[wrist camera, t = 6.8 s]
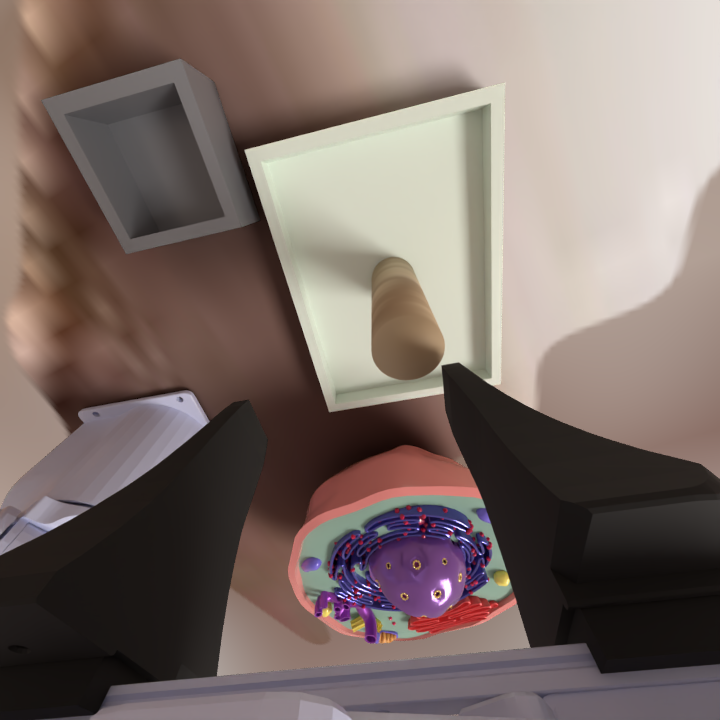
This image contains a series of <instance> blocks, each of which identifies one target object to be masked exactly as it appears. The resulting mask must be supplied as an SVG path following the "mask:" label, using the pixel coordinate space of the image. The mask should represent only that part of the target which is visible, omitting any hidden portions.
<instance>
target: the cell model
mask: <svg viewBox="0 0 720 720" xmlns="http://www.w3.org/2000/svg"><path fill="white" fill-rule="evenodd" d="M288 574H289V579H290V582H291V585H292V587H293V590H294V592H295V595H296V597H297V598H298V600H299V601H300V603H301V604H302V606H303V607H304V608H305V609H306V610H308V611H309V612H310V613H312V614H313V615H314V616H315V617H317V618H319V619H320V620H321V621H323V622H324V623H325V624H327V625H328V626H330V627H331V628H333V629H334V630H336V631H338V632H340V633H342V634H346V635H349V636H355V637H362V638H365V641H366V642H368V643H376V644H377V643H379V642H380V643H385V642H386V643H390V642H392V641H404V640H405V641H406V640H417V639H424V638H427V637H430V636H433V635H436V634H440V633H444V632H449V631H454V630H459V629H464V628H468V627H473V626H476V625H479V624H482V623H484V622H486V621H488V620H490V619H491V618H493V617H495V616H496V615H498V614H500V613H501V612H503V611H505V610H507V609H508V608H510V607H512V606H514V605H515V604H516V603H517V602H516V598H515V595H514V592H513V589H512V586H511V583H510V580H509V577H508V574H507V570H506V567H505V564H504V561H503V558H502V555H501V552H500V549H499V546H498V543H497V540H496V537H495V534H494V531H493V528H492V525H491V522H490V520H489V517H488V514H487V511H486V508H485V505H484V502H483V500H482V497H481V495H480V492H479V490H478V488H477V486H476V483H475V481H474V479H473V477H472V475H471V473H470V470H469V468H466V467H465V466H463V465H461V464H459V463H457V462H455V461H454V460H452V459H449V458H447V457H444V456H441V455H437V454H434V453H431V452H428V451H426V450H424V449H421V448H419V447H415V446H411V445H400V446H397V447H395V448H393V449H391V450H388V451H386V452H383V453H380V454H377V455H374V456H371V457H368V458H365V459H363V460H361V461H358V462H356V463H354V464H352V465H351V466H349V467H347V468H345V469H344V470H342V471H340V472H338V473H337V474H335V475H333V476H332V477H330V478H329V479H328V480H326V481H325V482H324V483H322V484H321V485H320V486H319V487H318V488H317V490H316V491H315V492H314V494H313V495H312V497H311V500H310V502H309V504H308V509H307V514H306V519H305V522H304V524H303V525H302V527H301V529H300V530H299V532H298V533H297V535H296V537H295V539H294V544H293V549H292V554H291V558H290V563H289V567H288Z"/></svg>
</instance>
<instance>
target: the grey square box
mask: <svg viewBox="0 0 720 720" xmlns="http://www.w3.org/2000/svg"><path fill="white" fill-rule="evenodd" d="M41 101H42V103H43V105H44V106H45V108H46V110H47V112H48V114H49V115H50V117H51V119H52V121H53V123H54V124H55V126H56V128H57V130H58V132H59V134H60V135H61V137H62V139H63V141H64V143H65V144H66V146H67V148H68V150H69V152H70V153H71V155H72V157H73V159H74V161H75V163H76V164H77V166H78V168H79V170H80V172H81V173H82V175H83V177H84V179H85V181H86V182H87V184H88V186H89V188H90V190H91V191H92V193H93V195H94V197H95V199H96V201H97V202H98V204H99V206H100V208H101V210H102V211H103V213H104V215H105V217H106V219H107V220H108V222H109V224H110V226H111V228H112V230H113V231H114V233H115V235H116V237H117V239H118V240H119V242H120V244H121V246H122V248H123V249H124V251H125V253H126V254H129V253H133V252H137V251H142V250H146V249H150V248H154V247H159V246H163V245H167V244H172V243H176V242H180V241H184V240H189V239H193V238H197V237H202V236H206V235H210V234H214V233H219V232H223V231H227V230H232V229H236V228H240V227H244V226H246V225H249V224H252V223H255V222H257V221H260V218H259V215H258V212H257V209H256V206H255V203H254V200H253V197H252V194H251V191H250V188H249V185H248V182H247V179H246V176H245V173H244V170H243V167H242V164H241V161H240V158H239V155H238V152H237V149H236V146H235V143H234V140H233V137H232V134H231V131H230V128H229V125H228V122H227V119H226V116H225V113H224V110H223V107H222V104H221V101H220V98H219V95H218V92H217V89H216V86H215V83H214V81H212V80H211V79H209V78H208V77H206V76H205V75H204V74H202V73H201V72H199V71H198V70H196V69H195V68H193V67H192V66H191V65H189V64H188V63H186V62H185V61H183V60H182V59H178V60H174V61H171V62H168V63H164V64H161V65H157V66H154V67H151V68H147V69H144V70H141V71H137V72H134V73H131V74H127V75H124V76H121V77H117V78H114V79H110V80H107V81H104V82H100V83H97V84H94V85H90V86H87V87H84V88H80V89H77V90H73V91H70V92H67V93H63V94H60V95H57V96H53V97H50V98H47V99H43V100H41Z"/></svg>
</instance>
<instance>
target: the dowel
mask: <svg viewBox="0 0 720 720" xmlns="http://www.w3.org/2000/svg"><path fill="white" fill-rule="evenodd" d="M444 351H445V341H444V337H443V335H442V333H441V330H440V328H439V326H438V324H437V321H436V319H435V317H434V315H433V313H432V310H431V308H430V306H429V304H428V301H427V299H426V297H425V295H424V292H423V290H422V288H421V286H420V283H419V281H418V279H417V277H416V275H415V272H414V270H413V268H412V266H411V265H410V264H409V263H408V262H407V261H406V260H404V259H402V258H399V257H390V258H386V259H384V260H382V261H381V262H379V263H378V264H377V266H376V267H375V269H374V271H373V273H372V307H371V352H372V358H373V361H374V363H375V365H376V366H377V367H378V369H379V370H380V371H381V372H382V373H384V374H385V375H387V376H389V377H391V378H394V379H398V380H414V379H418V378H421V377H424V376H426V375H427V374H429V373H430V372H432V371H433V370H434V369H435V368H436V367H437V366H438V365H439V363H440V362H441V360H442V358H443V355H444Z"/></svg>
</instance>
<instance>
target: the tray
mask: <svg viewBox="0 0 720 720" xmlns="http://www.w3.org/2000/svg"><path fill="white" fill-rule="evenodd" d="M504 134H505V82H504V83H501V84H497V85H493V86H489V87H485V88H481V89H477V90H474V91H470V92H466V93H462V94H458V95H454V96H450V97H447V98H443V99H439V100H435V101H431V102H427V103H424V104H420V105H416V106H412V107H408V108H404V109H400V110H397V111H393V112H389V113H385V114H381V115H377V116H373V117H370V118H366V119H362V120H358V121H354V122H350V123H346V124H343V125H339V126H335V127H331V128H327V129H323V130H319V131H316V132H312V133H308V134H304V135H300V136H296V137H293V138H289V139H285V140H281V141H277V142H273V143H269V144H266V145H262V146H258V147H254V148H250V149H246V150H245V153H246V156H247V160H248V163H249V166H250V169H251V172H252V175H253V178H254V181H255V184H256V187H257V190H258V194H259V197H260V200H261V203H262V206H263V209H264V212H265V215H266V218H267V221H268V224H269V228H270V231H271V234H272V237H273V240H274V243H275V246H276V249H277V252H278V255H279V258H280V262H281V265H282V268H283V271H284V274H285V277H286V280H287V283H288V286H289V289H290V292H291V296H292V299H293V302H294V305H295V308H296V311H297V314H298V317H299V320H300V323H301V326H302V330H303V333H304V336H305V339H306V342H307V345H308V348H309V351H310V354H311V357H312V361H313V364H314V367H315V370H316V373H317V376H318V379H319V382H320V385H321V388H322V391H323V395H324V398H325V401H326V404H327V407H328V410H329V412H334V411H340V410H346V409H352V408H358V407H364V406H371V405H377V404H383V403H389V402H395V401H401V400H407V399H413V398H419V397H425V396H432V395H438V394H444V388H443V378H442V367H441V365H446V364H452V363H457V362H459V363H461V364H462V365H463V366H465V367H466V368H468V369H469V370H470V371H472V372H473V373H474V374H476V375H477V376H479V377H480V378H482V379H483V380H484V381H486V382H487V383H489V384H490V385H499V384H501V342H502V272H503V203H504ZM390 257H399V258H402V259H404V260H406V261H407V262H408V263H409V264H410V265H411V266H412V268H413V270H414V272H415V275H416V277H417V279H418V281H419V283H420V286H421V288H422V290H423V292H424V295H425V297H426V299H427V301H428V304H429V306H430V308H431V310H432V313H433V315H434V317H435V319H436V321H437V324H438V326H439V328H440V330H441V333H442V335H443V337H444V341H445V351H444V355H443V358H442V360H441V362H440V363H439V365H438V366H437V367H436V368H435V369H434V370H433V371H432V372H430V373H429V374H427V375H426V376H424V377H421V378H418V379H414V380H398V379H394V378H391V377H389V376H387V375H385V374H384V373H382V372H381V371H380V370H379V369H378V367H377V366H376V365H375V363H374V361H373V358H372V352H371V307H372V273H373V271H374V269H375V267H376V266H377V264H378V263H379V262H381V261H382V260H384V259H386V258H390Z"/></svg>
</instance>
